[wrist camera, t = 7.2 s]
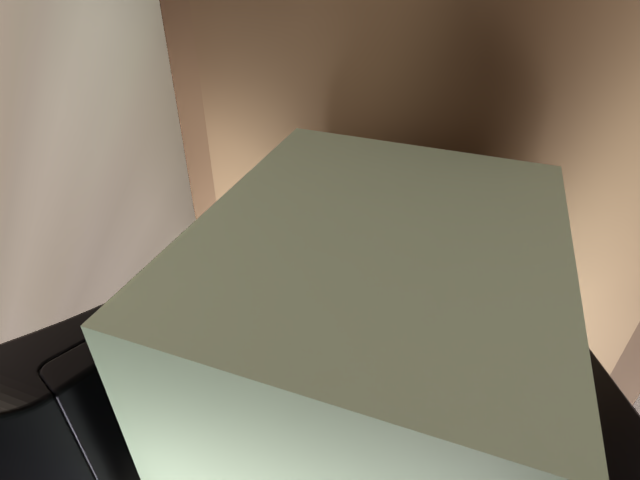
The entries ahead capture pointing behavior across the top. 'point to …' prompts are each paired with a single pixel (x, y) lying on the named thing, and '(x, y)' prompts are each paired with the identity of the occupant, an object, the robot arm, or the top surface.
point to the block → (360, 325)
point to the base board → (436, 107)
